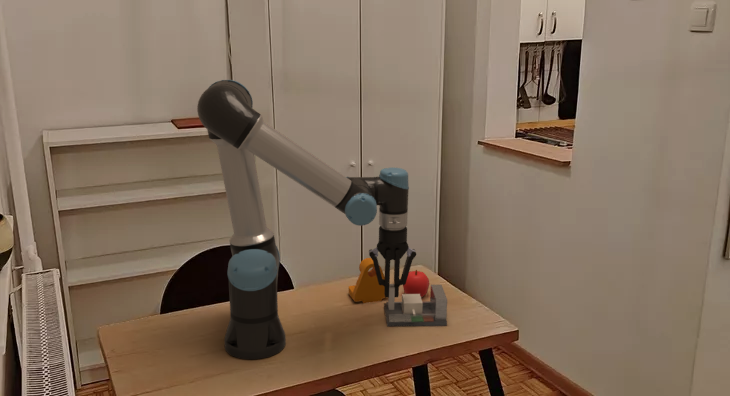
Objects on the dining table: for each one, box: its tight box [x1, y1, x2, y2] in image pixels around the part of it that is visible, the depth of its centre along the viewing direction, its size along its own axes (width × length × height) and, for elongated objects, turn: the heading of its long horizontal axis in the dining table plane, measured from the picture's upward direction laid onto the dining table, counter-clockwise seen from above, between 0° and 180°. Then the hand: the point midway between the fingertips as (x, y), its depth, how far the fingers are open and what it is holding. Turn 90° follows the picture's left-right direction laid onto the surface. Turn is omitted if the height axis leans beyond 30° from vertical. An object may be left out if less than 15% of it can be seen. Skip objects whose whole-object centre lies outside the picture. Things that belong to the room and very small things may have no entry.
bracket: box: [348, 257, 386, 304], centre depth 193 cm, size 11×7×12 cm, turn 108°
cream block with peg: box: [401, 293, 423, 316], centre depth 180 cm, size 5×9×4 cm, turn 3°
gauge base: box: [383, 284, 448, 328], centre depth 182 cm, size 16×12×7 cm
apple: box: [402, 269, 430, 298], centre depth 195 cm, size 8×8×8 cm
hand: (391, 307), depth 182 cm, fingers closed
